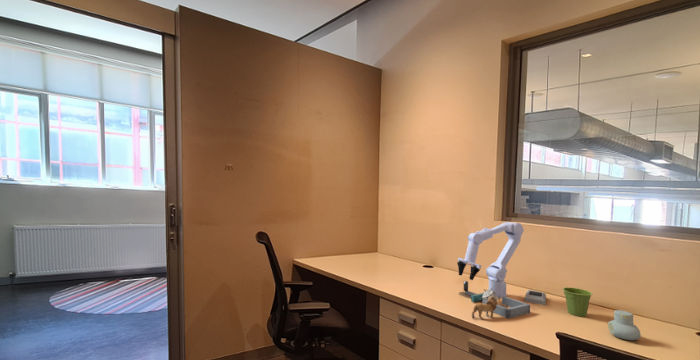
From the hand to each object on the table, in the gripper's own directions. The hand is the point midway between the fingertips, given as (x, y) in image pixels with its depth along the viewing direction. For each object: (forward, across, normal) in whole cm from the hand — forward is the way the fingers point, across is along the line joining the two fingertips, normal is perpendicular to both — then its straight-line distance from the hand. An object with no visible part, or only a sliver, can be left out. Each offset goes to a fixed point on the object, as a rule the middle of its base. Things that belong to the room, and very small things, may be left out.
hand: (465, 277), depth 174 cm
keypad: (+1, +20, +35) cm, 40 cm away
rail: (+10, +2, +4) cm, 11 cm away
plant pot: (0, +42, +31) cm, 53 cm away
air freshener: (+1, +64, +20) cm, 67 cm away
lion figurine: (+13, +26, -13) cm, 32 cm away
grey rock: (+9, +16, +4) cm, 18 cm away
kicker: (+10, +5, +4) cm, 11 cm away
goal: (+8, +24, +4) cm, 26 cm away
